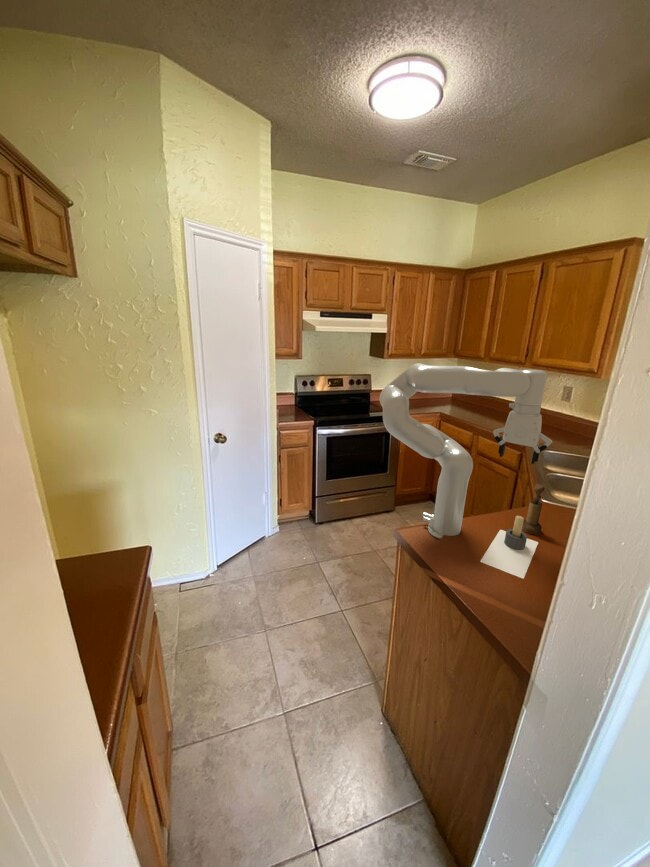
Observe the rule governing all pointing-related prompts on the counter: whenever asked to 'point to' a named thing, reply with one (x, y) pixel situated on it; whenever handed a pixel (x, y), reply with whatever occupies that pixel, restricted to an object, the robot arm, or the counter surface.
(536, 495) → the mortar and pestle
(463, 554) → the counter surface
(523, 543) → the ring
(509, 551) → the post board
